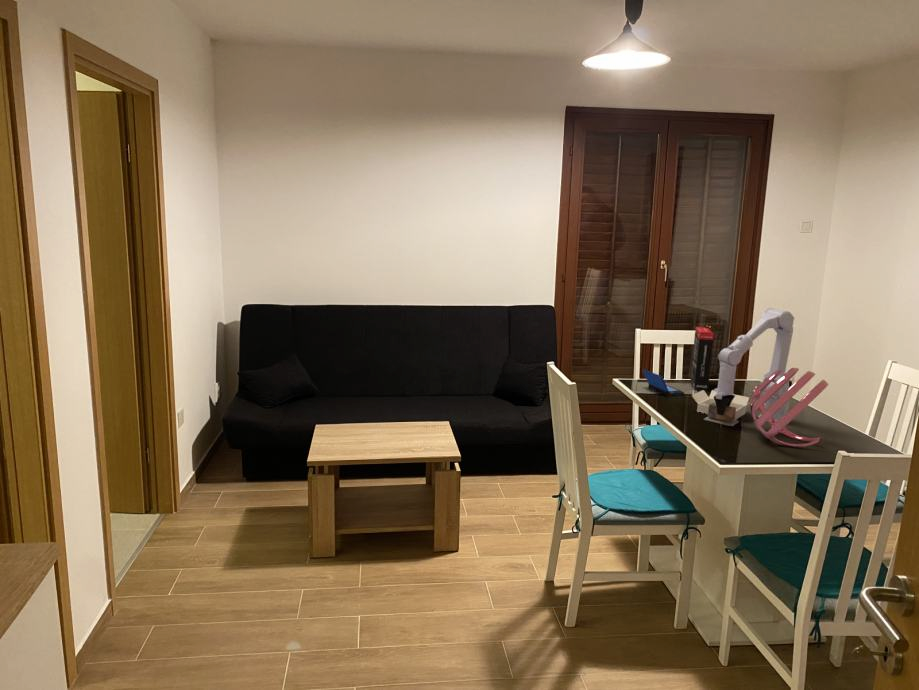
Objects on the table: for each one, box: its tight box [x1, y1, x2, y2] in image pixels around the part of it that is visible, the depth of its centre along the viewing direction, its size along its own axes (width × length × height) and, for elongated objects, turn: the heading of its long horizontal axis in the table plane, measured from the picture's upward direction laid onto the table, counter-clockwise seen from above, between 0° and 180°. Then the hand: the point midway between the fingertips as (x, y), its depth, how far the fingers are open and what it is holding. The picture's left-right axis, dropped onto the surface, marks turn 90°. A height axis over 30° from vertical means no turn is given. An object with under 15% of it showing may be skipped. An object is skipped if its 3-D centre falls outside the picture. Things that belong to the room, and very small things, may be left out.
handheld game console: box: [642, 369, 685, 397], centre depth 308 cm, size 16×13×9 cm
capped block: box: [707, 403, 736, 422], centre depth 266 cm, size 9×4×5 cm, turn 51°
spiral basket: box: [749, 367, 829, 448], centre depth 242 cm, size 28×28×27 cm
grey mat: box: [703, 416, 740, 427], centre depth 266 cm, size 11×8×1 cm
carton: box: [691, 389, 756, 421], centre depth 279 cm, size 21×16×6 cm
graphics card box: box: [689, 326, 715, 392], centre depth 319 cm, size 17×7×27 cm, turn 168°
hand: (722, 413), depth 266 cm, fingers closed on capped block, 4 cm apart
